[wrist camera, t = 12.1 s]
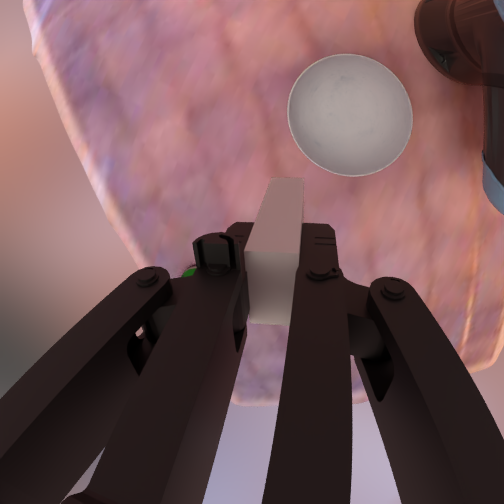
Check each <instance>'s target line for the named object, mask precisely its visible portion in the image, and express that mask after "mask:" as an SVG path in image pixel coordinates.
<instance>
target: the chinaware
mask: <svg viewBox="0 0 504 504" xmlns="http://www.w3.org/2000/svg"><path fill="white" fill-rule="evenodd" d="M287 118H288V124H289V128H290V131H291V134H292V136H293V139H294V141H295V142H296V144H297V146H298V147H299V149H300V150H301V151H302V153H303V154H304V155H305V156H306V157H307V158H308V159H309V160H310V161H312V162H313V163H314V164H316V165H317V166H319V167H320V168H322V169H324V170H326V171H328V172H331V173H334V174H337V175H342V176H351V177H357V176H365V175H370V174H373V173H376V172H378V171H381V170H383V169H384V168H386V167H388V166H389V165H390V164H392V163H393V162H394V161H395V160H396V159H397V158H398V157H399V156H400V155H401V153H402V152H403V150H404V149H405V147H406V145H407V143H408V141H409V138H410V135H411V131H412V125H413V113H412V106H411V102H410V99H409V96H408V94H407V92H406V90H405V88H404V86H403V84H402V83H401V82H400V80H399V79H398V78H397V77H396V75H395V74H394V73H393V72H392V71H390V70H389V69H388V68H387V67H385V66H384V65H383V64H381V63H379V62H377V61H376V60H373V59H371V58H368V57H365V56H362V55H357V54H336V55H331V56H327V57H325V58H322V59H320V60H318V61H316V62H314V63H313V64H311V65H310V66H309V67H307V68H306V69H305V70H304V71H303V72H302V73H301V74H300V76H299V77H298V78H297V80H296V81H295V83H294V85H293V87H292V89H291V92H290V95H289V99H288V105H287Z"/></svg>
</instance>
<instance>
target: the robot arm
mask: <svg viewBox="0 0 504 504" xmlns="http://www.w3.org/2000/svg"><path fill="white" fill-rule="evenodd" d="M414 26H415V33H416V37H417V40H418V42H419V45H420V47H421V49H422V51H423V53H424V54H425V56H426V57H427V59H428V60H429V61H430V63H431V64H432V65H433V66H434V67H435V68H436V69H437V70H438V71H439V72H440V73H442V74H443V75H444V76H446V77H447V78H449V79H451V80H453V81H455V82H458V83H461V84H466V85H483V101H484V142H483V150H482V161H483V180H482V182H483V188H484V191H485V193H486V195H487V197H488V199H489V201H490V202H491V203H492V204H493V206H494V207H495V208H496V209H497V210H498V211H499V212H500V213H502V214H503V215H504V0H422V1H421V2H420V3H419V5H418V7H417V9H416V12H415V18H414ZM192 244H193V250H194V256H195V261H196V267H197V268H196V270H195V271H194V273H193V275H191V276H187V277H180V278H173V279H170V275H169V273H168V271H167V270H166V269H164V268H162V267H155V266H152V267H145V268H143V269H140V270H138V271H136V272H135V273H133V274H132V275H130V276H129V277H128V278H127V279H126V280H125V281H124V282H122V283H121V284H120V285H119V286H118V287H117V288H115V290H113V291H112V292H111V293H110V294H109V295H108V296H106V297H105V298H104V299H103V300H102V301H101V302H100V303H99V304H98V305H96V306H95V307H94V308H93V309H92V310H91V311H90V312H89V313H88V314H86V315H85V316H84V317H83V318H82V319H81V320H80V321H79V322H78V323H77V324H76V325H75V326H73V327H72V328H71V329H70V330H69V331H68V332H67V333H66V334H65V335H64V336H63V337H62V338H61V339H60V340H59V341H58V342H56V343H55V344H54V345H53V346H52V347H51V348H50V349H49V350H48V351H47V352H46V353H45V354H44V355H43V356H42V357H41V358H40V359H39V360H38V361H37V362H36V363H35V364H34V365H33V366H32V367H31V368H30V369H29V370H28V371H27V372H26V373H25V374H24V375H23V376H22V377H21V378H20V379H19V380H18V381H17V382H16V383H15V384H14V385H13V386H12V387H11V388H10V389H9V391H8V392H7V393H6V394H5V395H4V396H3V397H2V398H1V399H0V504H60V503H61V504H202V502H203V499H204V495H205V491H206V488H207V484H208V481H209V477H210V473H211V470H212V466H213V462H214V459H215V455H216V451H217V448H218V444H219V440H220V437H221V433H222V429H223V426H224V422H225V418H226V414H227V410H228V406H229V403H230V399H231V395H232V392H233V388H234V384H235V380H236V376H237V372H238V368H239V365H240V361H241V357H242V353H243V349H244V345H245V341H246V337H247V324H246V322H247V318H248V314H249V318H250V323H257V324H271V325H286V326H290V327H289V336H288V343H287V351H286V359H285V366H284V373H283V380H282V387H281V394H280V401H279V407H278V414H277V420H276V427H275V432H274V438H273V444H272V450H271V456H270V462H269V467H268V473H267V478H266V483H265V489H264V494H263V499H262V504H350V494H351V475H352V382H351V360H350V355H353V356H354V360H355V363H356V366H357V368H358V371H359V374H360V376H361V379H362V382H363V385H364V388H365V390H366V393H367V396H368V399H369V402H370V404H371V407H372V410H373V413H374V416H375V419H376V422H377V425H378V428H379V431H380V434H381V437H382V440H383V443H384V446H385V450H386V453H387V456H388V459H389V462H390V466H391V468H392V472H393V476H394V479H395V482H396V486H397V489H398V492H399V496H400V500H401V503H402V504H504V439H503V437H502V435H501V433H500V431H499V429H498V427H497V424H496V423H495V420H494V418H493V416H492V414H491V413H490V411H489V409H488V407H487V405H486V403H485V401H484V399H483V397H482V395H481V394H480V392H479V390H478V388H477V386H476V385H475V383H474V381H473V379H472V377H471V376H470V374H469V372H468V371H467V369H466V367H465V365H464V364H463V362H462V360H461V359H460V357H459V356H458V354H457V352H456V351H455V349H454V347H453V346H452V344H451V343H450V341H449V339H448V338H447V336H446V335H445V333H444V332H443V330H442V329H441V327H440V326H439V324H438V323H437V321H436V320H435V318H434V317H433V315H432V314H431V312H430V311H429V309H428V308H427V306H426V305H425V303H424V302H423V300H422V299H421V298H420V296H419V295H418V293H417V292H416V291H415V289H414V288H413V287H412V286H411V285H410V284H409V283H407V282H406V281H404V280H402V279H399V278H395V277H382V278H378V279H376V280H374V281H373V282H372V283H371V285H370V287H366V286H362V285H358V284H355V283H353V282H351V281H349V280H347V279H346V278H345V277H344V276H343V273H342V270H341V269H340V268H339V263H338V254H337V246H336V237H335V230H334V229H333V228H332V227H331V226H330V225H329V224H317V223H304V178H280V177H272V178H271V180H270V183H269V186H268V188H267V191H266V193H265V196H264V199H263V201H262V204H261V207H260V209H259V212H258V215H257V217H256V220H255V222H236V223H234V224H233V225H231V226H230V227H229V228H228V229H227V231H226V232H225V233H223V232H218V233H210V234H206V235H203V236H201V237H199V238H197V239H196V240H195V241H194V242H193V243H192ZM140 327H142V329H143V333H142V334H141V335H140V336H138V337H137V336H136V334H135V333H136V331H137V330H138V329H139V328H140ZM105 446H106V447H105ZM104 447H105V449H104V451H103V454H102V456H101V459H100V460H99V462H98V465H97V467H96V469H95V471H94V474H93V476H92V478H91V480H90V483H89V485H88V486H87V488H86V489H85V490H84V491H83V492H80V493H77V494H74V495H71V496H69V497H67V498H66V499H65V500H64V501H62V500H63V499H64V498H65V496H66V495H67V494H68V493H69V492H70V490H71V489H72V488H73V486H74V485H75V484H76V483H77V481H78V480H79V479H80V478H81V476H82V475H83V474H84V473H85V471H86V470H87V469H88V468H89V466H90V465H91V464H92V463H93V461H94V460H95V459H96V457H97V456H98V455H99V454H100V452H101V451H102V450H103V448H104Z"/></svg>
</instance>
